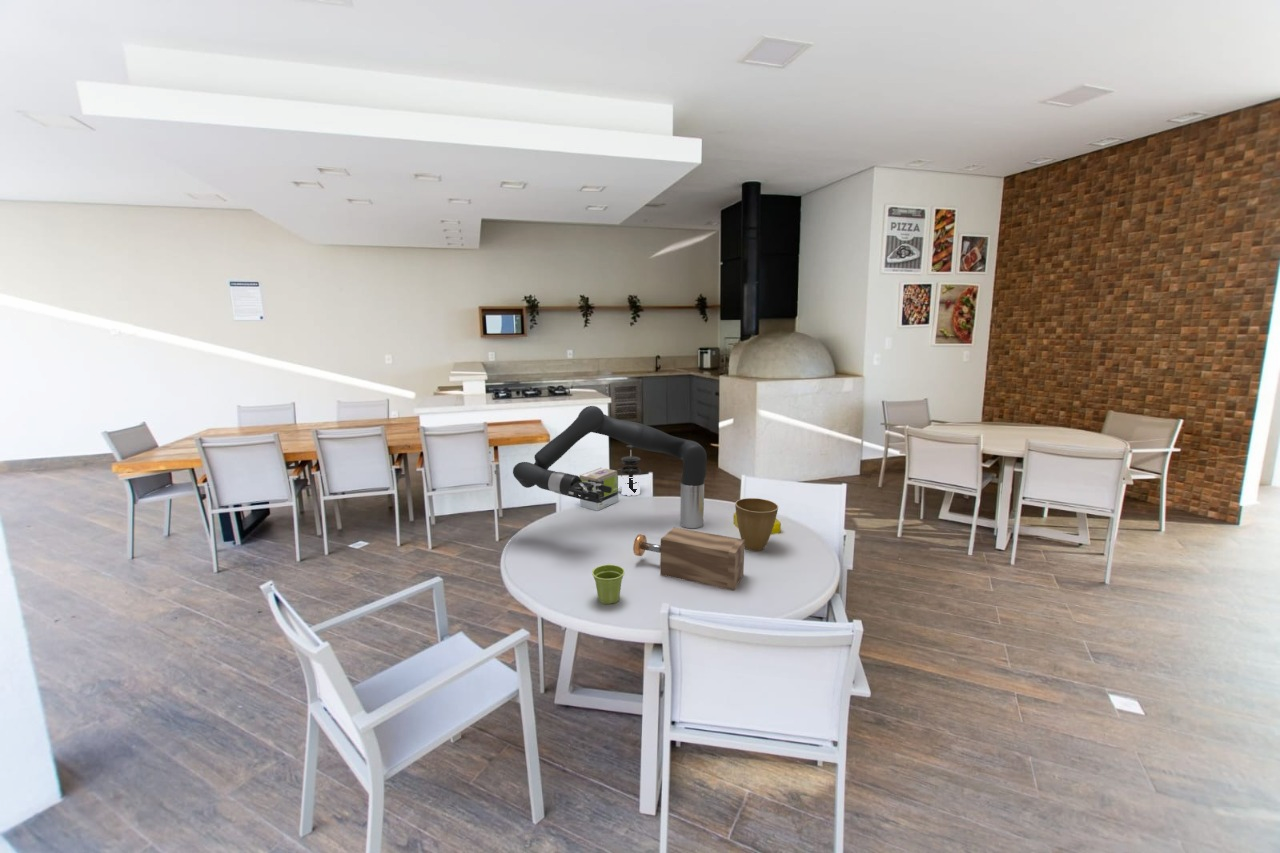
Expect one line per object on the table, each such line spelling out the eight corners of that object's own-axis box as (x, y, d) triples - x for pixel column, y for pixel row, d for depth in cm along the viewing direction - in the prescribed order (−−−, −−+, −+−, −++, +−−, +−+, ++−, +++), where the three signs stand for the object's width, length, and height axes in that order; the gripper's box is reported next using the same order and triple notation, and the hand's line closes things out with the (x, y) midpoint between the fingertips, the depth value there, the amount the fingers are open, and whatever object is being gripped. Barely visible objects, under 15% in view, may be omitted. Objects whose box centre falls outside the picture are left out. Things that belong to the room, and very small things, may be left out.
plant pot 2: (743, 557, 185) (745, 513, 182) (727, 540, 200) (729, 499, 197) (783, 553, 188) (785, 510, 185) (765, 537, 203) (767, 496, 200)
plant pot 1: (586, 604, 155) (586, 575, 153) (600, 589, 163) (600, 562, 162) (617, 610, 151) (616, 581, 150) (629, 594, 160) (629, 567, 158)
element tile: (782, 534, 207) (782, 522, 206) (744, 536, 204) (745, 524, 204) (766, 520, 221) (767, 509, 220) (731, 522, 219) (732, 511, 218)
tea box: (601, 498, 248) (601, 466, 245) (618, 502, 242) (618, 470, 239) (579, 507, 236) (578, 474, 233) (597, 511, 230) (596, 478, 227)
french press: (641, 490, 260) (641, 443, 255) (642, 496, 250) (642, 447, 246) (617, 490, 259) (616, 443, 255) (617, 496, 250) (617, 448, 245)
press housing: (673, 560, 183) (673, 527, 180) (743, 575, 173) (744, 539, 170) (660, 574, 173) (660, 539, 170) (733, 590, 163) (735, 553, 160)
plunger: (642, 550, 185) (642, 531, 183) (699, 562, 176) (700, 541, 175) (633, 558, 179) (633, 538, 177) (692, 570, 170) (692, 549, 169)
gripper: (553, 478, 182) (595, 488, 175) (575, 469, 195) (615, 477, 188) (552, 499, 183) (594, 510, 177) (574, 488, 196) (614, 498, 190)
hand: (605, 493), depth 182 cm, fingers open, 8 cm apart
